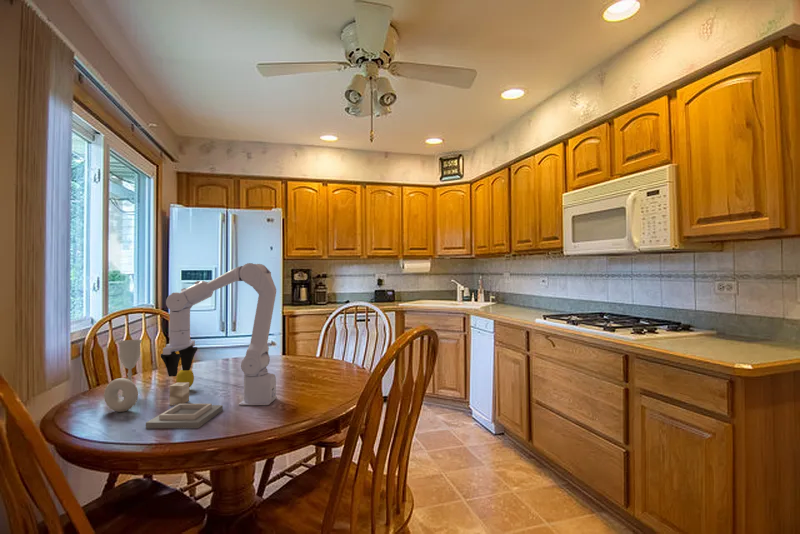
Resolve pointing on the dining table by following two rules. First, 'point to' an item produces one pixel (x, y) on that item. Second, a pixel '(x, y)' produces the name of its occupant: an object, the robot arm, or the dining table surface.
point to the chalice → (129, 355)
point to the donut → (129, 392)
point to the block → (179, 393)
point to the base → (185, 416)
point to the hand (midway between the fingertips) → (179, 373)
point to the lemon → (185, 377)
